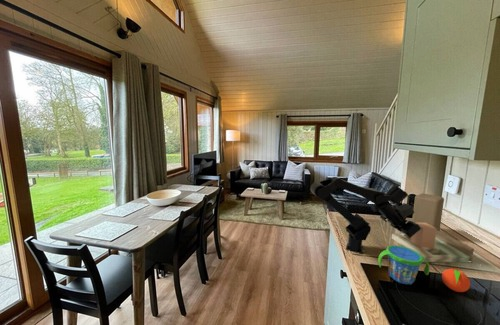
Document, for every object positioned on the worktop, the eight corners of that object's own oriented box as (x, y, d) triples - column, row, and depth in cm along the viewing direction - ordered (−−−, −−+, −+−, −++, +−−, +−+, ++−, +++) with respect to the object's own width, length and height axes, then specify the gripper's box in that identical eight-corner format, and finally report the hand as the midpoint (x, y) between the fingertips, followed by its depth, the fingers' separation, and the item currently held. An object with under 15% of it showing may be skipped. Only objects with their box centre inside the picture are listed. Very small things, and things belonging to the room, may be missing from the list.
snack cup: (421, 275, 80) (425, 249, 78) (433, 294, 70) (437, 266, 69) (374, 265, 85) (376, 241, 84) (379, 282, 76) (382, 255, 74)
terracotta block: (420, 247, 95) (423, 228, 93) (410, 240, 101) (412, 222, 99) (433, 247, 95) (436, 228, 93) (423, 240, 101) (425, 222, 99)
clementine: (469, 302, 67) (473, 282, 66) (440, 291, 72) (443, 272, 71) (467, 289, 73) (471, 270, 72) (440, 279, 78) (443, 261, 77)
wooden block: (439, 233, 114) (444, 197, 111) (433, 238, 108) (438, 200, 105) (417, 226, 122) (421, 192, 119) (410, 230, 116) (414, 195, 114)
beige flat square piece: (423, 261, 88) (425, 248, 87) (391, 238, 108) (392, 226, 107) (471, 262, 88) (473, 248, 87) (430, 238, 108) (432, 227, 107)
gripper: (419, 205, 85) (442, 231, 87) (388, 192, 104) (408, 214, 105) (397, 224, 86) (421, 249, 88) (371, 208, 105) (391, 229, 106)
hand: (409, 234), depth 97 cm, fingers closed
